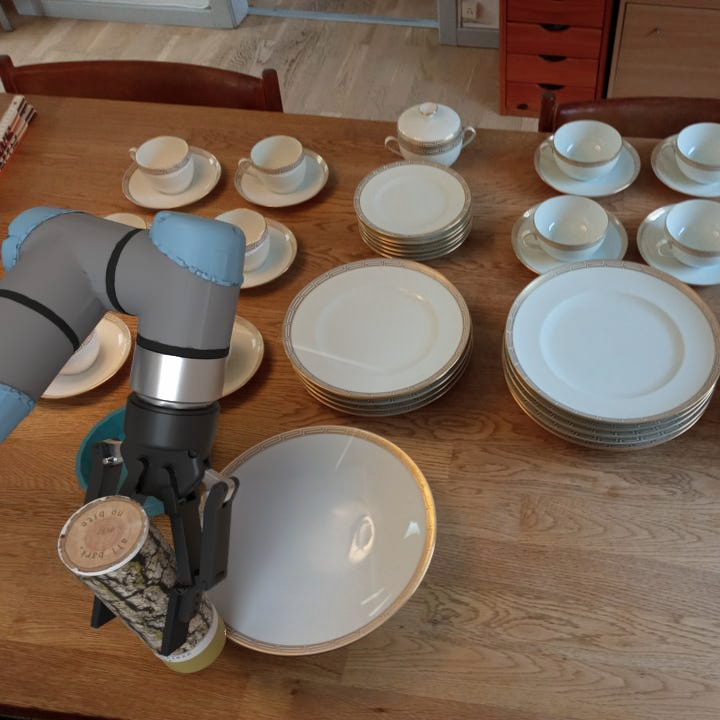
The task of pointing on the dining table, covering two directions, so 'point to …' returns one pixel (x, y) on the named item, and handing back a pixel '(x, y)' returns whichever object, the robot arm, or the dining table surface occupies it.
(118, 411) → the bowl
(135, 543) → the paper tube
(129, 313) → the robot arm
